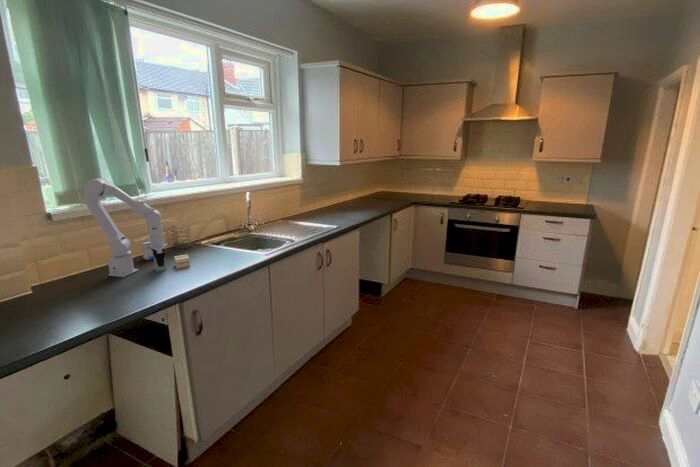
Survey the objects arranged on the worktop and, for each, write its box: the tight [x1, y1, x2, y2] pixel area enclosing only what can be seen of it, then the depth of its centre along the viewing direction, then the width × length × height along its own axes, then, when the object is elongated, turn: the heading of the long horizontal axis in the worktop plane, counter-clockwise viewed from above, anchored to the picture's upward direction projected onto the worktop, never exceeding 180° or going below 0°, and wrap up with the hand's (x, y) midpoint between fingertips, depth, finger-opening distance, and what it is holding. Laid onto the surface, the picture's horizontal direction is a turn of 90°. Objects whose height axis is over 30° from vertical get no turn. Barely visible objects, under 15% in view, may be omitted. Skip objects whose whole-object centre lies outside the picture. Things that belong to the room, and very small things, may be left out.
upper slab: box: [173, 254, 191, 265], centre depth 180 cm, size 6×6×2 cm
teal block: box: [153, 258, 167, 272], centre depth 176 cm, size 4×4×6 cm
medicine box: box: [141, 240, 155, 261], centre depth 192 cm, size 8×4×9 cm, turn 143°
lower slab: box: [174, 262, 191, 270], centre depth 181 cm, size 6×6×2 cm
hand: (160, 263), depth 176 cm, fingers open, 7 cm apart
